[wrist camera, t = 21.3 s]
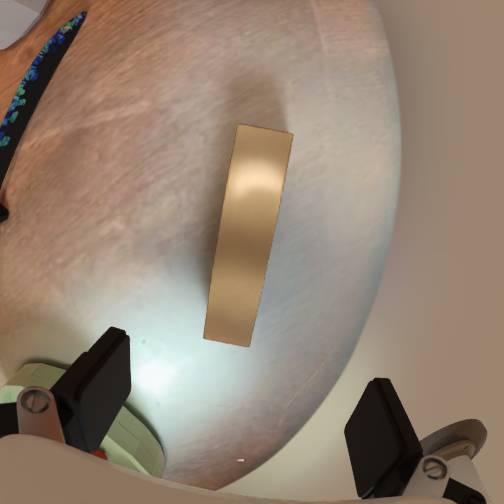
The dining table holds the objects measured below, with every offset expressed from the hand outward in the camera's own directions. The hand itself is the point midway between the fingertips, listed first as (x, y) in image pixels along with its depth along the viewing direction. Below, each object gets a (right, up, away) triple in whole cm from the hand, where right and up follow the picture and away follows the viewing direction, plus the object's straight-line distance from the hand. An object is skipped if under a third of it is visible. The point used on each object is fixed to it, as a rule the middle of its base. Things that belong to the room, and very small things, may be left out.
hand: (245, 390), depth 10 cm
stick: (0, +6, +9) cm, 11 cm away
